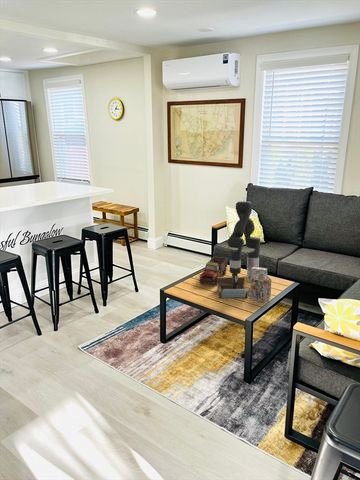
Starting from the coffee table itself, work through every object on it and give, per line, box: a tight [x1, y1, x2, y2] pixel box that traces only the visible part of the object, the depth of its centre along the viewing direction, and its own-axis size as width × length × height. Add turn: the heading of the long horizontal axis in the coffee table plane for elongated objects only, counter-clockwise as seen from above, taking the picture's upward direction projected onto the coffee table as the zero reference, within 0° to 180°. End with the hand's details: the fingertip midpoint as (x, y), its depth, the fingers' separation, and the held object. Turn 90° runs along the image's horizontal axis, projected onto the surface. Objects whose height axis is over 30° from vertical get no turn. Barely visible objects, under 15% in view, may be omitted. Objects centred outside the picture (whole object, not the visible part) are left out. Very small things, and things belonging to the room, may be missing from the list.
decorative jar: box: [249, 274, 272, 303], centre depth 262 cm, size 12×12×18 cm
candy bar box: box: [250, 266, 268, 281], centre depth 279 cm, size 11×5×16 cm, turn 62°
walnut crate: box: [216, 276, 249, 300], centre depth 271 cm, size 16×20×10 cm
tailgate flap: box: [222, 288, 248, 299], centre depth 260 cm, size 1×16×10 cm
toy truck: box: [199, 256, 228, 286], centre depth 300 cm, size 14×35×15 cm, turn 154°
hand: (234, 289), depth 258 cm, fingers closed
